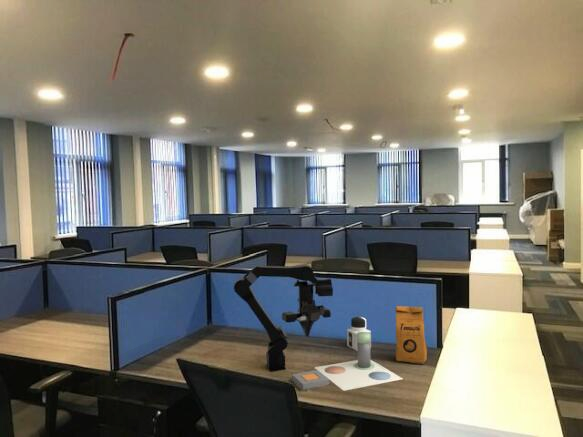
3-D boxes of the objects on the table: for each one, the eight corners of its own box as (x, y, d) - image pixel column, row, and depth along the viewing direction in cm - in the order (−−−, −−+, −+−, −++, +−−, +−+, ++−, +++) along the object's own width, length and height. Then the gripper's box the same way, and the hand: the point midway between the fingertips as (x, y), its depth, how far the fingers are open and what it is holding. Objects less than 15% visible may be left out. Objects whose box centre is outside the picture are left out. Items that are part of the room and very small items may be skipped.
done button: (306, 386, 167) (306, 380, 166) (301, 381, 171) (301, 375, 171) (319, 384, 168) (319, 378, 168) (313, 379, 173) (313, 373, 173)
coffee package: (425, 366, 184) (425, 310, 183) (393, 363, 188) (392, 308, 187) (428, 358, 193) (428, 304, 192) (397, 355, 198) (397, 302, 197)
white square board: (343, 392, 161) (343, 390, 161) (314, 369, 184) (314, 367, 184) (403, 381, 170) (403, 378, 170) (368, 360, 192) (368, 357, 192)
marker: (365, 369, 180) (365, 336, 179) (354, 366, 184) (353, 334, 183) (373, 365, 184) (373, 333, 183) (362, 362, 187) (362, 331, 187)
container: (356, 351, 204) (355, 321, 203) (347, 345, 211) (346, 317, 211) (371, 348, 207) (371, 318, 207) (361, 343, 214) (361, 314, 214)
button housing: (303, 391, 163) (302, 384, 163) (292, 381, 173) (292, 374, 173) (329, 386, 167) (329, 379, 167) (317, 376, 176) (317, 370, 176)
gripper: (291, 303, 175) (292, 345, 175) (337, 298, 182) (337, 338, 182) (280, 297, 185) (281, 337, 186) (324, 293, 192) (325, 331, 193)
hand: (307, 336), depth 186 cm, fingers closed
